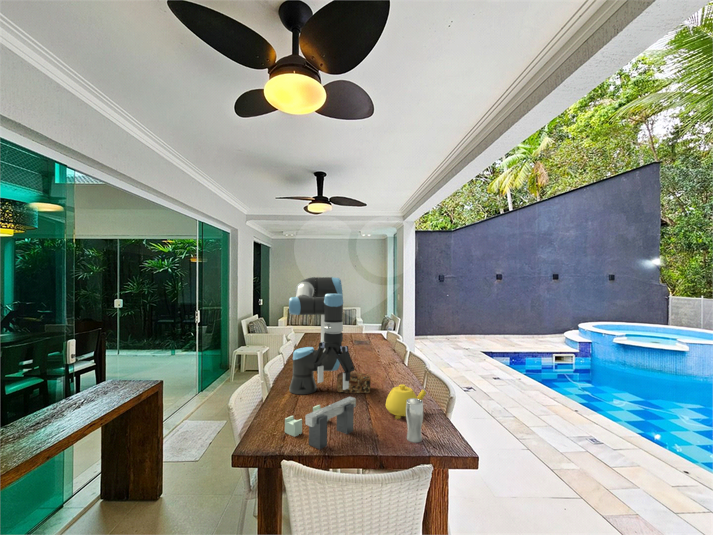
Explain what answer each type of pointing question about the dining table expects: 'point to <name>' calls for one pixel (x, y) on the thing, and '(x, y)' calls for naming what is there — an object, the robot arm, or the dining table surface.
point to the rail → (329, 411)
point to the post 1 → (318, 434)
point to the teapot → (401, 400)
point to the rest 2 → (317, 409)
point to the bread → (355, 383)
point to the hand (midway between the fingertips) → (332, 385)
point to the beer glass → (414, 419)
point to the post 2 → (346, 420)
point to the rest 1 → (293, 426)
